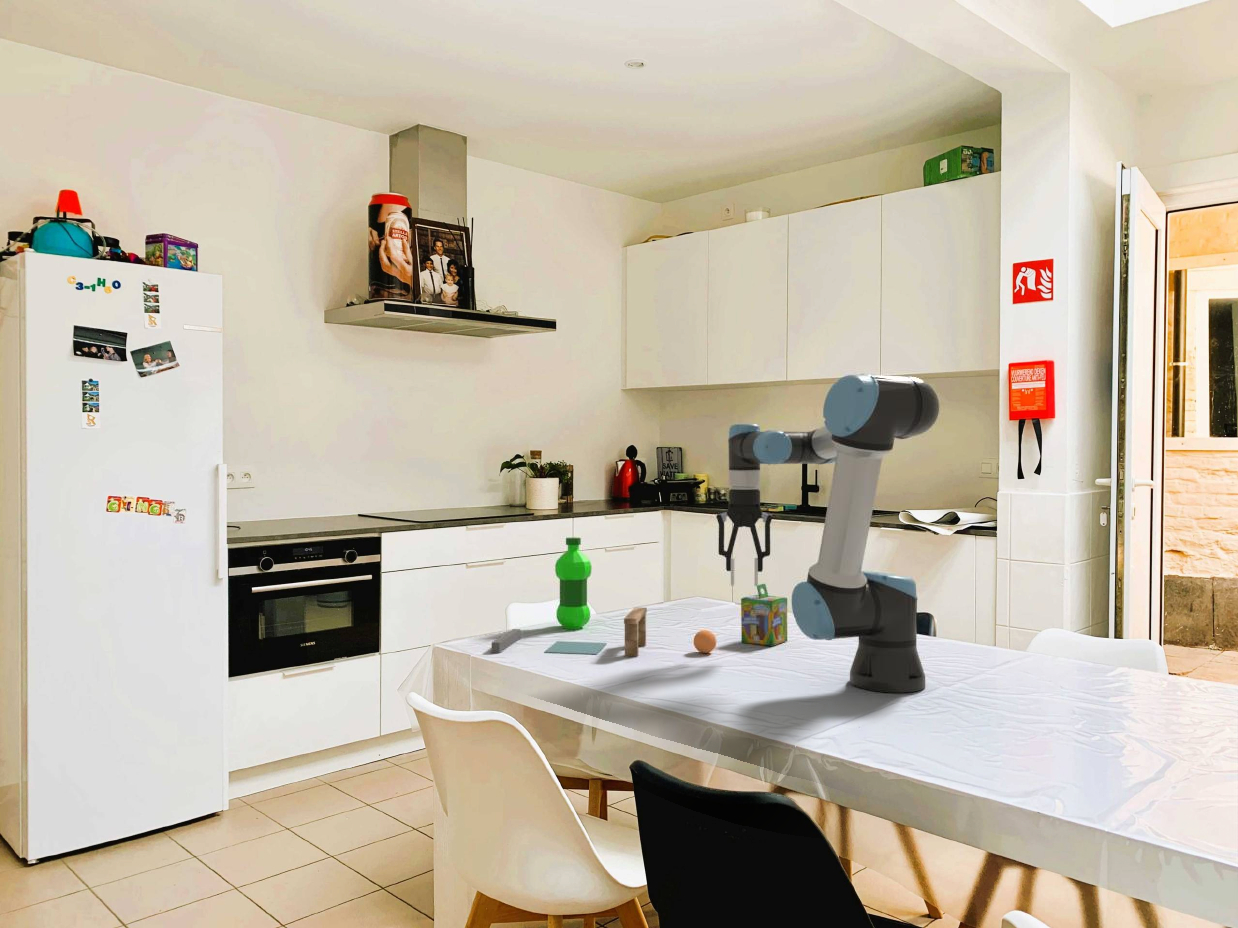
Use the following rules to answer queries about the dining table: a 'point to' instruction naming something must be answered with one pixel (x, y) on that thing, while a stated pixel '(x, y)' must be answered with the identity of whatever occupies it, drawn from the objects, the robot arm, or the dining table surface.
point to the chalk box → (763, 618)
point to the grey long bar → (506, 640)
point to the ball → (704, 641)
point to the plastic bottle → (573, 586)
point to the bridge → (635, 631)
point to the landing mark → (575, 647)
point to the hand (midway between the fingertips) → (744, 584)
